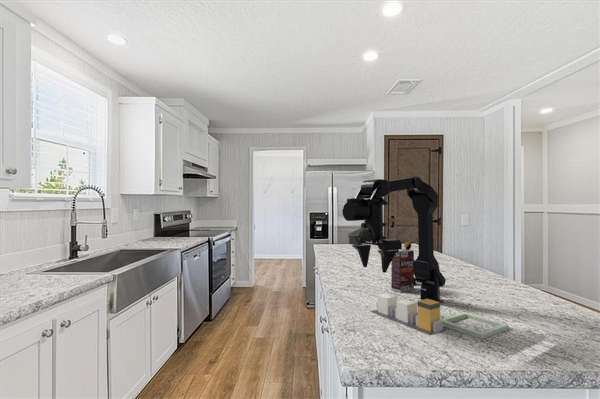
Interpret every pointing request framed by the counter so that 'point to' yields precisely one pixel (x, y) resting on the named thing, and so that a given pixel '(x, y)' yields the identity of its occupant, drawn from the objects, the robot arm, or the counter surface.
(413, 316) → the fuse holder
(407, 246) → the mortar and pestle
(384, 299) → the block
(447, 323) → the tray
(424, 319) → the block
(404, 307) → the block
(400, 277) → the supplement box
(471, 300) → the counter surface
